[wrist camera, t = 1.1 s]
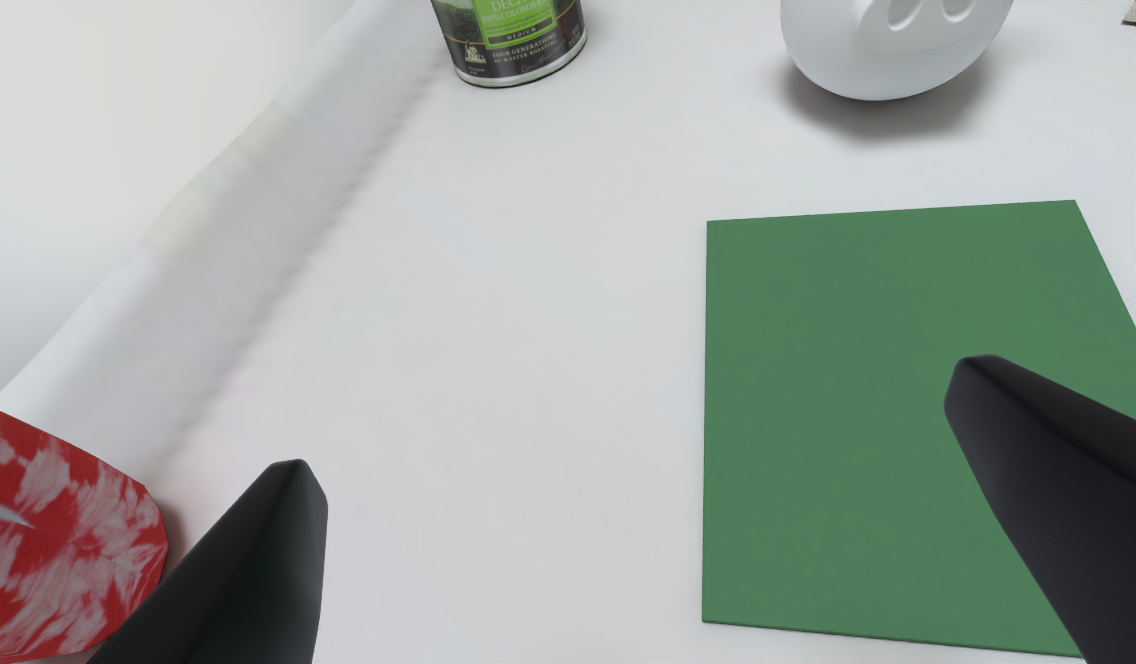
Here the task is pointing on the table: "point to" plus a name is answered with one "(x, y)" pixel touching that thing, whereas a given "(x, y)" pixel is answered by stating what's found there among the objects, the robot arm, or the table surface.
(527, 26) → the coffee can
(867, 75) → the piggy bank
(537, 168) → the table surface
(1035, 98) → the table surface
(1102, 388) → the cloth
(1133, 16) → the condiment
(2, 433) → the water bottle
